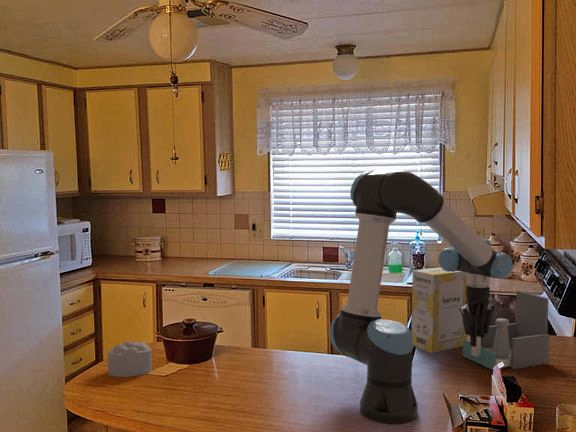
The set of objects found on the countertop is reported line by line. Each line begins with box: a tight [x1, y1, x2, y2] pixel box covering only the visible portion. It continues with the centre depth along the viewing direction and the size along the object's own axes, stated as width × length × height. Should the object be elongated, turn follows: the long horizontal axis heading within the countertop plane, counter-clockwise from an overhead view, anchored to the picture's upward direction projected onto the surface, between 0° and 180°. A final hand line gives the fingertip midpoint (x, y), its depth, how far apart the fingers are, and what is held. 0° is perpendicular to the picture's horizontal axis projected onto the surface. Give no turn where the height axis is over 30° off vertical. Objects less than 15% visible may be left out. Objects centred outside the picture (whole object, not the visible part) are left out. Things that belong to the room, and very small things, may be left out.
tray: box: [462, 340, 511, 371], centre depth 188 cm, size 16×15×6 cm
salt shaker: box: [492, 317, 511, 359], centre depth 188 cm, size 6×6×13 cm
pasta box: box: [410, 266, 469, 354], centre depth 205 cm, size 18×10×28 cm, turn 120°
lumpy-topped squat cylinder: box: [107, 340, 153, 378], centre depth 177 cm, size 10×13×9 cm
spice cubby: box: [481, 290, 550, 370], centre depth 189 cm, size 15×15×22 cm
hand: (475, 355), depth 184 cm, fingers closed
